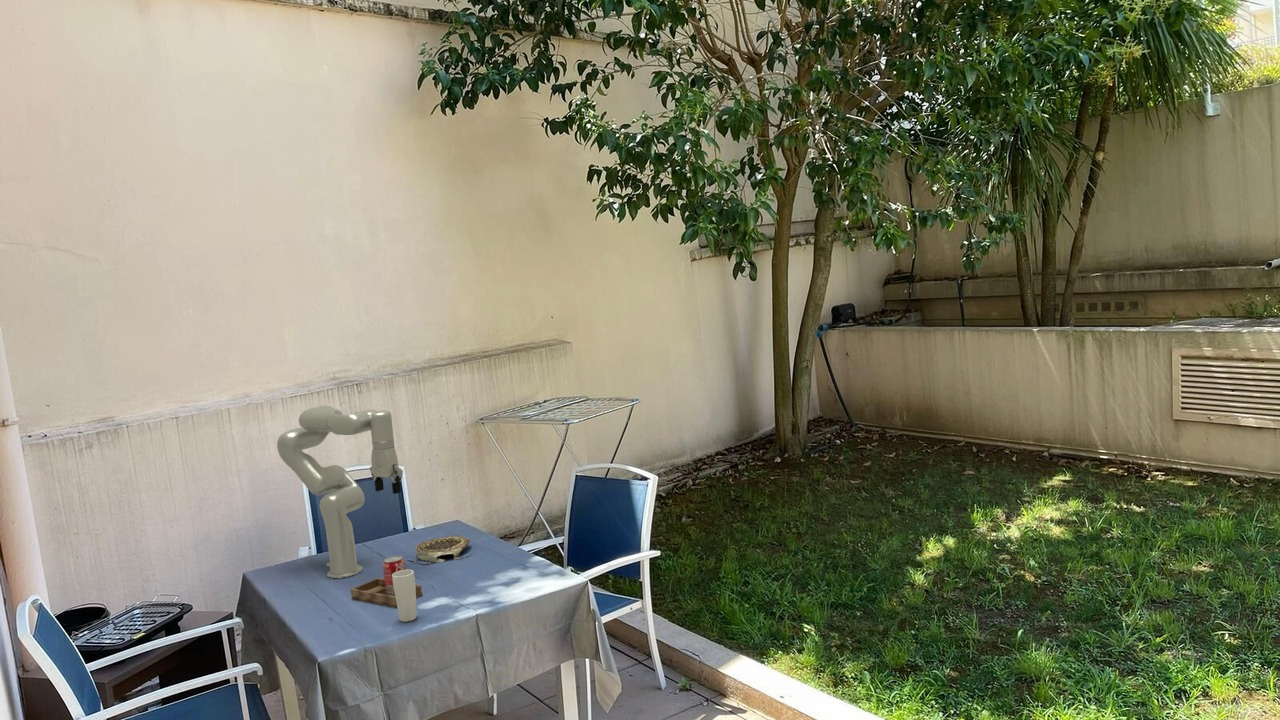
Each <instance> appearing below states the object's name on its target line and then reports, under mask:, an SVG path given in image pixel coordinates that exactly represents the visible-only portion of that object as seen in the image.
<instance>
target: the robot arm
mask: <svg viewBox="0 0 1280 720" xmlns="http://www.w3.org/2000/svg"><path fill="white" fill-rule="evenodd" d="M392 419H393V418H392V414H391V412H390V411H389V410H376V409H365V410H361V411H356V412H353V413H345V414H343V413H342V411H341V410H339V409H338V408H334V407H333V406H331V405H321V406H317V407H311V408H308V409H306V410H304V411H302V412H301V414H300V415H299V417H298V423H299V426H300V427H297V428H293V429H290V430H287V431H285V432H283V433H282V434H280V435H279V437H278V439H277V442H276V443H277V444H276V446H277V447H276V448H277V452H278V455H279V456H280V458H281V460H282V461H283V462H284V464H286V465H287V466H288V467H289V468H290V469H291V470H292V471H293V472H294V473H295V475H297V477H298V478H299V479H300V481H301V482H302V483H303V484H304V485H305V487H306V488H307V489H308V491H309V492H310V493H311V494H312V495H315V496H321V495H323V496H322V497H321V499H320V501H319V511H320V513H321V516H322V519H323V522H324V523H323V524H324V527H325V533H326V542H327V549H328V556H329V557H328V558H329V562H327V563H326V567H329V571H328V572H327V573H326V574H327V576H329V577H334V578H338V579H344V578H343V577H345V578H348V577H349V576H350V577H352V575H353V576H356V575H358V574H359V572H360V573H361V572H362V571H363V566H362V565H361V564H358V560H357V553H356V552H357V551H356V544H355V543H356V542H355V536H354V535H355V534H354V528H353V524H352V521H351V520H350V519H349V518H348V515H347V514H348V513H351V512H353V511H356V510H358V509H360V508H361V507H362V506H364V503H365V494H364V491H363V490H362V488H361V487H360V486H359V484H358V483H357V482H356V481H355V479H354V478H353V477H352V476H351V475H350V473H349V472H348V471H347V470H346V469H345V468H343V467H342V466H341V465H336V464H333V465H329V466H326V467H325V466H324V467H323V466H321V465H320V463H318V461H317V460H316V459H315V458H314V457H313V456H312V455H310V454H309V453H306V452H304V451H303V450H307V449H311V448H315V447H317V446H319V445H321V444H322V443H323V442H324V440H325V439H326V438H327V437H328V436H329V434H330V433H332V434H334V435H337V436H338V435H339V436H352V435H353V436H354V435H358V434H361V433H364V432H368V431H370V434H371V444H372V449H371V455H370V456H371V460H370V461H371V466H370V467H369V471H370V473H371V476H372V480H373V481H374V488H375V492H380V491H383V490H384V489H385V488H384V478H385V479H389V478H390V480H391V481H392V483H391V489H392V494H393V495H396V494H399V493H400V494H401V492H402V489H401V488H402V487H401V481H402V478H403V473H404V471H403V469H401V468H400V467H399V466H400V465H399V460H398V456H397V455H398V454H397V451H396V448H395V437H394V427H393V420H392ZM355 574H356V575H355ZM329 577H328V578H329Z"/></svg>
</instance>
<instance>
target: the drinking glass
mask: <svg viewBox="0 0 1280 720" xmlns="http://www.w3.org/2000/svg"><path fill="white" fill-rule="evenodd" d="M392 581H393V588H394V593H395V598H396V602H397V611H398V617H399V620H400V622H403V623H407V622H408V621H409V622H412V621H415V620H416V619H417V617H418V613H417V598H416V585H417V584H416V577H415V572H414V570H412V569H406V570H401V571H397V572H395V573H393V574H392ZM415 584H416V585H415ZM409 622H408V623H409Z"/></svg>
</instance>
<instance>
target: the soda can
mask: <svg viewBox="0 0 1280 720" xmlns="http://www.w3.org/2000/svg"><path fill="white" fill-rule="evenodd" d="M382 569H383V570H382V571H383V577H384V578H383V579H385V586H386V593H387V595H389V596H395V593H394V588H393V581H392V574H393V573H395V572H397V571H401V570H407V569H406V564H405V560H404V559H403V556H402V555H393V556H389V557H386V558H385V559H384V560H383V563H382Z"/></svg>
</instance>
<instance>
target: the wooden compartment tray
mask: <svg viewBox="0 0 1280 720" xmlns="http://www.w3.org/2000/svg"><path fill="white" fill-rule="evenodd" d="M415 585H416V599H418V598H420V597H422V596H423V589H422V587H423V586H422V585H421V584H416V583H415ZM350 595H351V600H355V601H359V602H363V603H369V604H375V605H378V604H379V605H378V606H383V605H385V606H384V607H388V606H389V608H393V607H395V609H397V608H398V607H397V602H396V598H395V596H389V595H387V593H386V586H385V579H384V578H380V577H377V578H375V579H372V580H370V581H368V582H365V583H362V584H360V585H358V586H355V587H353V588H350ZM396 607H397V608H396Z"/></svg>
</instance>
